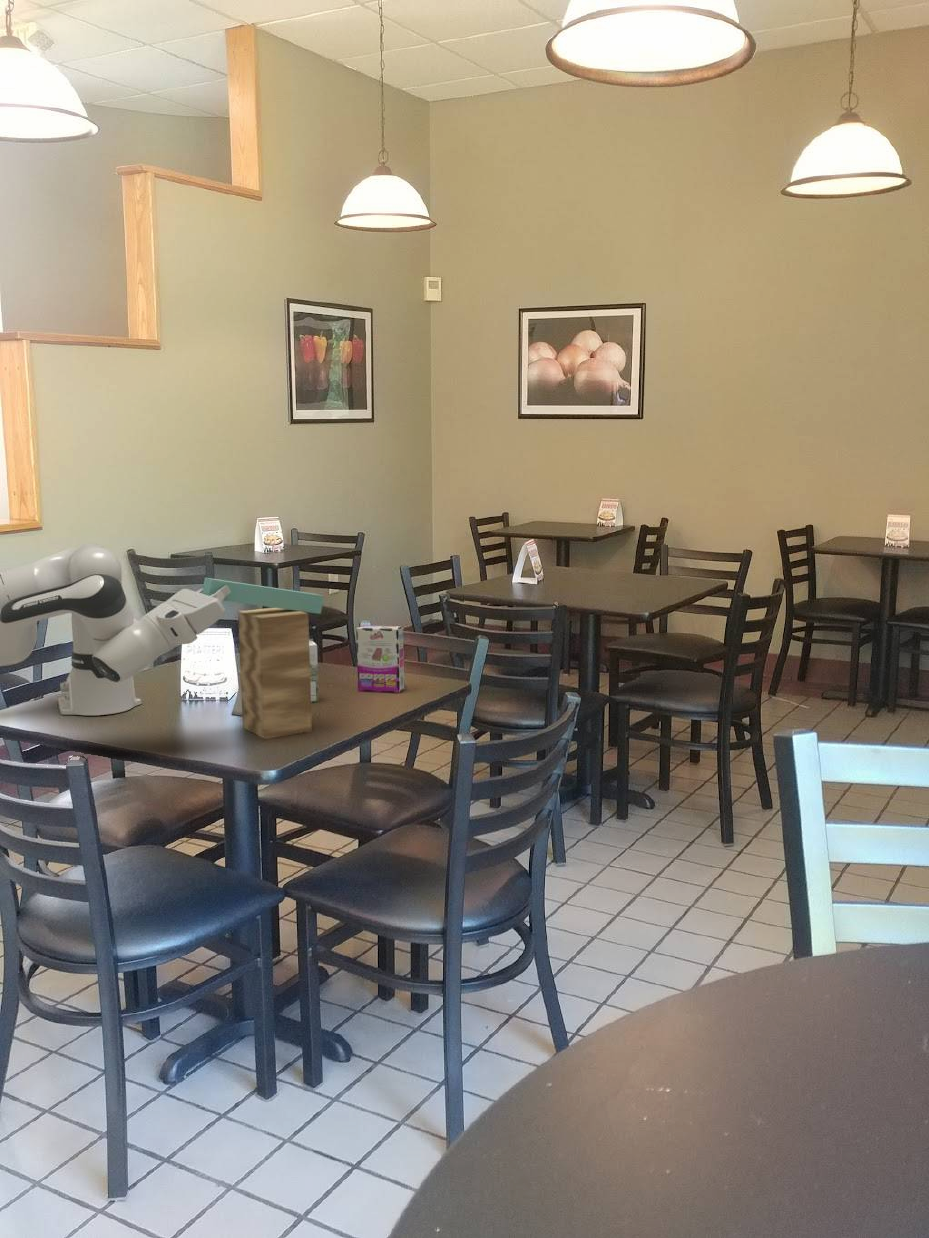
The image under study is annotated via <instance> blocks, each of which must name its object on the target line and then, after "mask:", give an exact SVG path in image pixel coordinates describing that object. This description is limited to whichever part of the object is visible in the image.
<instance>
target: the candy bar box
mask: <svg viewBox="0 0 929 1238" xmlns="http://www.w3.org/2000/svg"><path fill="white" fill-rule="evenodd" d="M355 634H356V636H355V637H356V656H357V657H356V659H357V660H356V662H357V663H356V664H357V691H358V692H366V693H367V692H368V693H386V694H390V693H391V694H399V693H401V692H402V690H403V689H404V690H405V687H406V686H405V657H404V656H405V653H404V651H405V649H404V626H400V625H399V626H398V625H360V626H359V627H356V633H355ZM404 690H403V691H404Z"/></svg>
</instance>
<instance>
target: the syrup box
mask: <svg viewBox="0 0 929 1238" xmlns="http://www.w3.org/2000/svg"><path fill="white" fill-rule="evenodd" d="M309 653H310V687H311V703H315V702H319V680H318V678H319V673H318V667H319V665H318V645H317V643H316V642H314V641H312V640H310V639H309Z"/></svg>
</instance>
